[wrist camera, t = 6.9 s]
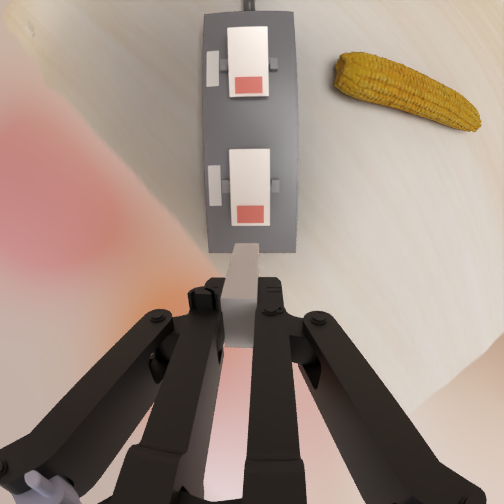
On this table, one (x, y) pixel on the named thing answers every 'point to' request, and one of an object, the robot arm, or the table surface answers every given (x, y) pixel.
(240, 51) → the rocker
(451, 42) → the table surface
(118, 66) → the table surface
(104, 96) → the table surface
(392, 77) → the food
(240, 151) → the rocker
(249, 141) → the power strip
